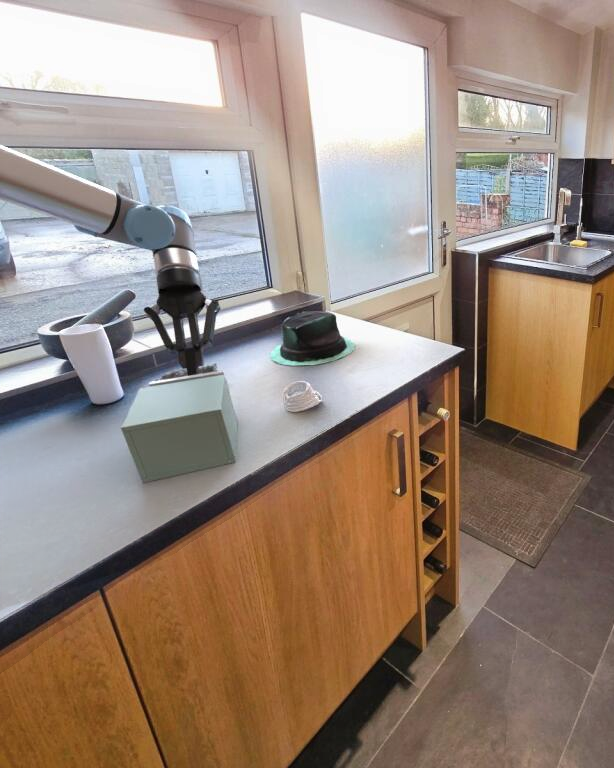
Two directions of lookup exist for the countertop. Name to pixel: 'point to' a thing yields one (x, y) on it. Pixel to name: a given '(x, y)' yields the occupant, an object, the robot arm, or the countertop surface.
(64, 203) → the robot arm
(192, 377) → the drawer
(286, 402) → the white ribbed cup
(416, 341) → the countertop surface
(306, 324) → the dark green hat
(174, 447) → the cabinet
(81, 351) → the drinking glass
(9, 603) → the countertop surface
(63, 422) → the countertop surface
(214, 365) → the egg carton
